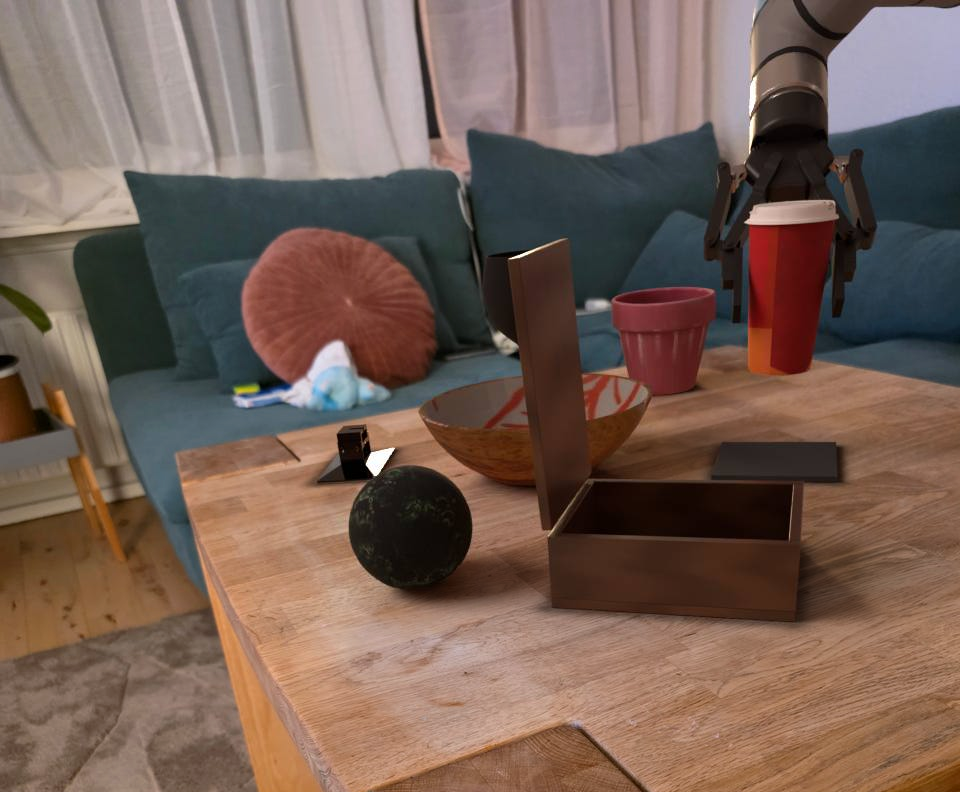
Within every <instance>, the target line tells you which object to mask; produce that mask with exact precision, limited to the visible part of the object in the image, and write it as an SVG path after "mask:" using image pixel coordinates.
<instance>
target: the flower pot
mask: <svg viewBox="0 0 960 792" xmlns="http://www.w3.org/2000/svg"><path fill="white" fill-rule="evenodd" d="M716 298H717V292H716V291H715V289H711V288H706V287H698V286H697V287H696V286H670V287H668V286H667V287H656V288H647V289H641V290H640V289H639V290H635V291H629V292H624V293H622V294H618V295H616V296H614V297H613V298H612V299H611V324H612V327H613V328H614V329H617V330H618V334H619V340H620V345H621V349H622V350H621V351H622V354H623V358H624V363H625V368H626V372H627V377H628V378H631V379H634V380H637V381H641V382H643V383H645V384H647V385H648V386H650V387H651V389H652V390H653V395H654V396H660V395H661V396H662V395H672V394H679V393H682V392H686V391H689V390H691V389H693V388H694V387H695V386H696V381H697V377H698V373H699V369H700V366H701V362H702V357H703V353H704V348H705V344H706V340H707V334H708V330H709V325H710V323H712V322H714V321H715V319H716V312H717V311H716V310H717V309H716V308H717V299H716ZM653 395H652V396H653Z"/></svg>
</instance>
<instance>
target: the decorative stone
mask: <svg viewBox="0 0 960 792" xmlns="http://www.w3.org/2000/svg"><path fill="white" fill-rule="evenodd" d="M473 529H474V527H473V517H472V512H471V508H470V506H469V503H468V501H467V499H466V497H465V496H464V494H463V492H462V490H461V489H460V488H459V487H458V485H456V483H455V482H454V481H452V480H451V479H450V478H449V477H447V476H446V475H445V474H443V473H441V472H440V471H438V470H436V469H433V468H431V467H427V466H423V465H415V464H406V465H398V466H393V467H391V468H387V469H385V470H382V471H381V473H379V474H378V475H376V476H374V477H373V478H372V479H371V480H370V481H366V483H365V484H364V485H363V487H361V489H360V490H359V492H358V493H357V495H356V497H355V498H354V501H353V502H352V505H351V508H350V513H349V518H348V538H349V543H350V547H351V549H352V551H353V554H354V555H355V557H356V560H357V561H358V562H359V564H360V566H361V567H362V568H363V569H364V570H365V571H366V572H367V573H368V574H369V575H370V576H372V577H373V578H374V579H376V580H377V581H379V582H380V583H382V584H383V585H385V586H388V587H390V588H393V589H398V590H406V591H415V590H416V591H421V590H426V589H429V588H432V587H435V586H437V585H440V584H441V583H442V582H445V580H447V579H448V578H450V577H451V576H452V575H454V573H455V572H456V571H457V570H458V569H459V568H460V567H461V565H462V563H463V562H464V560H465V559H466V558H467V555H468V553H469V550H470V547H471V545H472V544H471V543H472V540H473Z"/></svg>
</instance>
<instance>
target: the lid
mask: <svg viewBox="0 0 960 792" xmlns="http://www.w3.org/2000/svg"><path fill="white" fill-rule="evenodd" d="M570 247H571V246H570V240H569V238H567V237H566V238H560V239H557V240H554V241H552V242H549V243H547V244H544V245H542V246H539V247H536V248H534V249H530V250H531V251H528V252H526V253H523V254H521V255H518V256H516V257H513V258H510V259H508V267H509V274H510V282H511V290H512V298H513V306H514V314H515V322H516V330H517V338H518V345H517V346H519V347H518V352H519V361H520V368H521V376H522V377H523V385H524V393H525V401H526V409H527V417H528V425H529V433H530V441H531V448H532V456H533V464H534V472H535V480H536V486H535V487H536V495H537V502H538V503H537V504H538V510H539V511H538V512H539V517H540V518H539V519H540V526H541V531H543V532H544V531H545V532H546V531H552V530H553V528H554V527H555V525H556V524H557V522H558V521H559V519H560V518H561V516H562V515H563V514H564V512H565V511H566V509H567V508H568V506H569V505H570V503H571V502H572V501H573V499H574V498H575V496H576V495H577V493H578V492H579V490H580V489H581V487H582V486H583V485H584V483H585V482H586V480H587V479H589V477H590V475H591V474H592V469H591V463H590V453H589V442H588V432H587V422H586V411H585V401H584V391H583V381H582V373H583V372H582V371H583V370H582V362H581V361H582V360H581V352H580V350H581V349H580V341H579V340H580V339H579V331H578V319H577V310H576V309H577V308H576V300H575V299H576V298H575V288H574V279H573V268H572V258H571V248H570Z"/></svg>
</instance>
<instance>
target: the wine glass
mask: <svg viewBox="0 0 960 792" xmlns="http://www.w3.org/2000/svg"><path fill="white" fill-rule="evenodd" d="M531 250H532V249H522V250H511V251H503V252H497V253H492V254H488V255H486V257H485V262H484V268H483V275H482V297H483V304H484V308H485V310H486V314H487V316H488V318H489V320H490V322H491V323H492V325H493V326H494V327H495V328H496V329H497V330H498V331H499V332H500V333H501V334H502V335H503V336H504V337H505V338H507V339H509V340H510V341H512V342H513V343H514V344H515V345H517V346H518V338H517V330H516V322H515V314H514V306H513V298H512V290H511V282H510V274H509V267H508V259H510V258H513V257H516V256H518V255H521V254H523V253H526V252H528V251H531ZM518 348H519V346H518Z"/></svg>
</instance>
